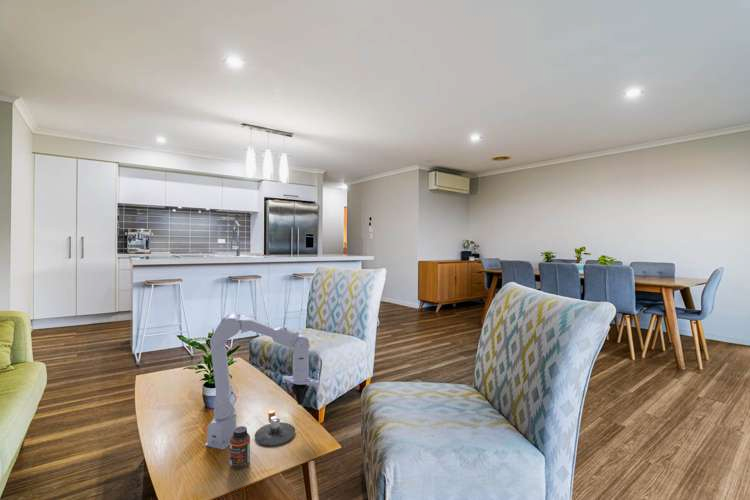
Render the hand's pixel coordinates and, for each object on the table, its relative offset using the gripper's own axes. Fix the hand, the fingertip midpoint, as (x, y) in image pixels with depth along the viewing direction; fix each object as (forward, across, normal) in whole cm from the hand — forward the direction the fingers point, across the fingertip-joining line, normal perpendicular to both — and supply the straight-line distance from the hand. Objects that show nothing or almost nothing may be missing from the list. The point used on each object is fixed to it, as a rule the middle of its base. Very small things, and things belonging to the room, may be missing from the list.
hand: (300, 403), depth 132 cm
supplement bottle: (+10, +8, +24) cm, 27 cm away
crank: (+9, +9, +4) cm, 13 cm away
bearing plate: (+10, +7, +6) cm, 14 cm away
